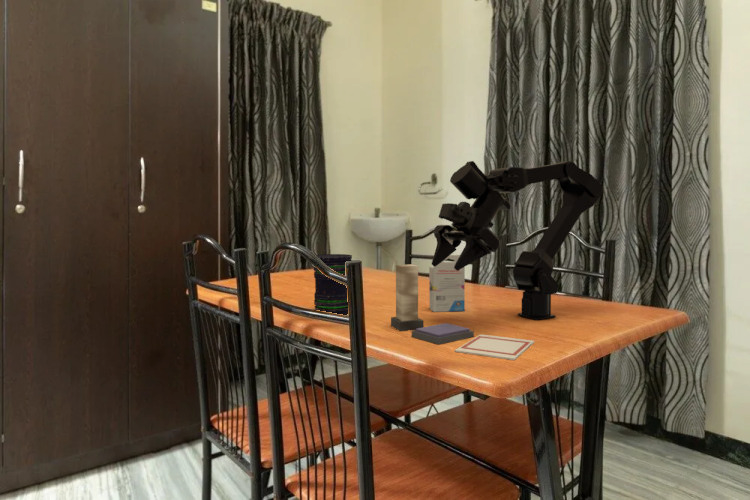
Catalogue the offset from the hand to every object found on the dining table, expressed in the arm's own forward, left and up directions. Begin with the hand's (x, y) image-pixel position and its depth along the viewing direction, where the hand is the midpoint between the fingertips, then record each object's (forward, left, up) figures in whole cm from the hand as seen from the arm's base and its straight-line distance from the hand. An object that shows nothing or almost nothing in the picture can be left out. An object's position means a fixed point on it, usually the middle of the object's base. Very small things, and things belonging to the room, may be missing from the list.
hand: (444, 267), depth 111 cm
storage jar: (+15, -27, -14) cm, 34 cm away
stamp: (+7, -4, -14) cm, 16 cm away
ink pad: (+5, +7, -14) cm, 16 cm away
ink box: (-13, -17, -14) cm, 25 cm away
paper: (+1, +18, -14) cm, 23 cm away
